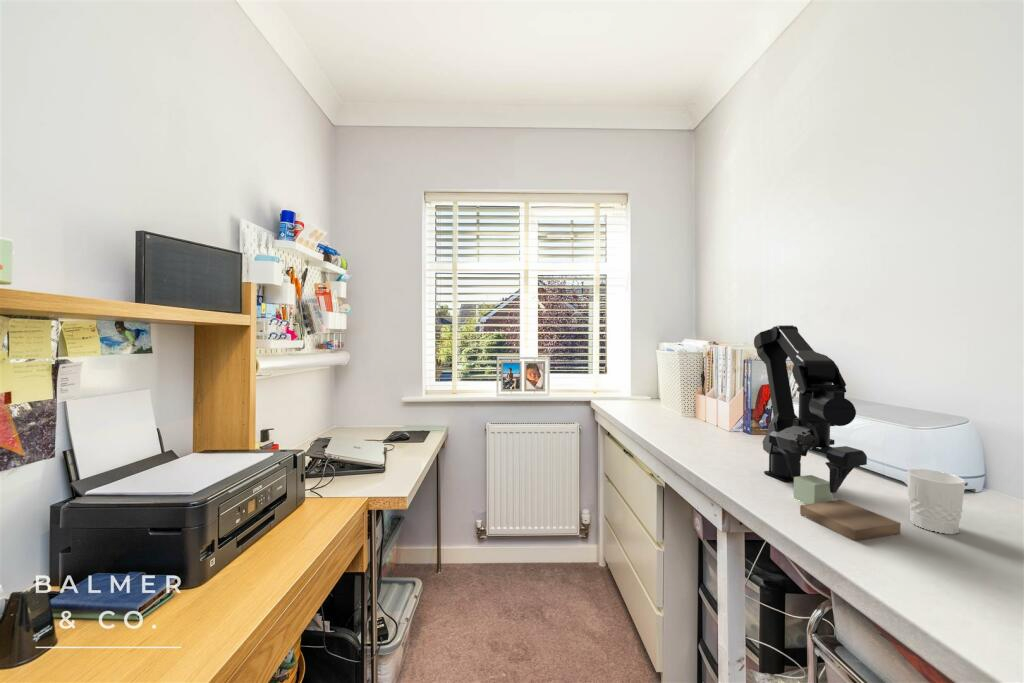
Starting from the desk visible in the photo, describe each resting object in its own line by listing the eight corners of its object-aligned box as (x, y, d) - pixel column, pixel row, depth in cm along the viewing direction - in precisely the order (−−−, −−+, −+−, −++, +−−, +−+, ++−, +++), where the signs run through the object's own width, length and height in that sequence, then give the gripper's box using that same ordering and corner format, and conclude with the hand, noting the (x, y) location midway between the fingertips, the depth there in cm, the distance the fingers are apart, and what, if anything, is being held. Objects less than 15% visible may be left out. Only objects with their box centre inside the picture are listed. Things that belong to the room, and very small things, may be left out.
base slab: (800, 514, 87) (800, 505, 87) (841, 508, 90) (841, 499, 90) (854, 541, 76) (855, 530, 76) (900, 533, 79) (900, 523, 79)
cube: (793, 498, 95) (793, 477, 95) (811, 496, 96) (811, 474, 96) (814, 507, 90) (814, 485, 90) (832, 505, 92) (832, 482, 91)
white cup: (945, 539, 77) (947, 485, 76) (895, 519, 84) (897, 471, 84) (973, 533, 79) (975, 480, 79) (923, 514, 86) (924, 467, 86)
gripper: (750, 409, 100) (749, 473, 100) (826, 427, 82) (824, 506, 82) (788, 406, 102) (787, 469, 103) (869, 424, 84) (867, 500, 85)
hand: (812, 484), depth 93 cm, fingers open, 9 cm apart
